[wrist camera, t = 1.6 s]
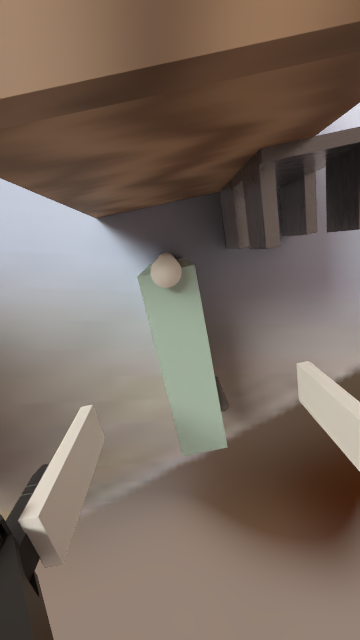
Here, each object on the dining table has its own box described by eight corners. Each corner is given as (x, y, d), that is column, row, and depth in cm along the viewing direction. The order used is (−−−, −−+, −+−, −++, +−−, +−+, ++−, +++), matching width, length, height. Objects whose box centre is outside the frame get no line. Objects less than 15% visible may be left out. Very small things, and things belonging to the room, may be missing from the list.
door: (176, 382, 33) (183, 466, 20) (147, 256, 28) (131, 263, 15) (214, 375, 32) (244, 453, 20) (191, 246, 27) (212, 246, 15)
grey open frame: (226, 248, 28) (269, 249, 16) (219, 191, 26) (260, 147, 15) (290, 234, 28) (379, 225, 16) (287, 177, 26) (383, 121, 14)
